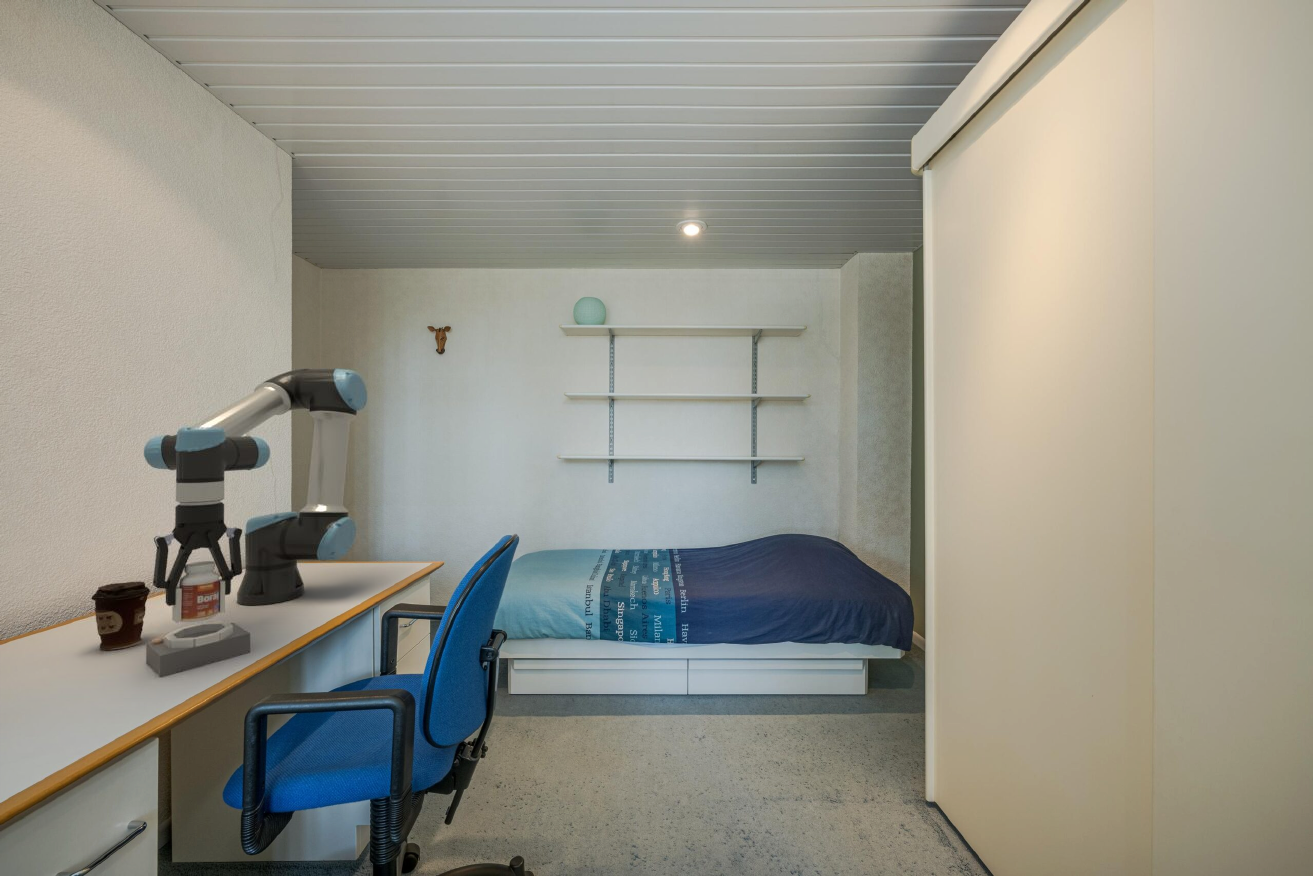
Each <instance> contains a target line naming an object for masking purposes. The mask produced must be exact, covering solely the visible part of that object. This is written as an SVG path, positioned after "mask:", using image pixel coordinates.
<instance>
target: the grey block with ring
mask: <svg viewBox="0 0 1313 876" xmlns="http://www.w3.org/2000/svg"><path fill="white" fill-rule="evenodd" d="M145 646H146V647H145V648H146V650H145V651H146V653H145V658H146V659H145V662H146V663H145V664H146V665H147V666H148V667H149V668H151V670H152V671H153V672H155V674H156V675H157V676H159V678H161V677H166V676H168V675H172V674H176V673H179V672H184V671H186V670H190V669H191V670H192V669H194V668H198V667H201V666H204V665H210V664H212V663H215V662H219V661H223V660H227V659H231V658H234V657H238V656H241V655H245V654H249V653H251V633H250V632H249V631H248V630H246V629H244V628H242V627H241V626H239V625H238V624H236V623H234V622H231V623H230V622H228V621H210V622H209V621H206V622H201V623H197V624H192V625H187V626H183V627H179V628H177V629H175V630H172V631H171V632H168V633H167V634H165V635H164V637H162V636H160V637H154V638H152V641H149V642H146V643H145Z"/></svg>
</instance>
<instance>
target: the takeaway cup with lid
mask: <svg viewBox="0 0 1313 876" xmlns="http://www.w3.org/2000/svg"><path fill="white" fill-rule="evenodd" d="M150 593H151V589H150V588H149V587H148V586H146V582H144V581H128V582H117V583H115V582H114V583H110V584H106V585H102V586H99V587H97V590H96V592H95V593H94V594H93V595H92V596H91V598H90V599H91V600H92V601H94V605H95V607H94V613H95V622H96V627H97V634H98V636H99V638H100V643H99V649H100V650H105V651H110V650H120V649H125V648H126V649H127V648H130V647H133V646H136V645H139V644H141V643H142V638H141V637H142V633H143V626H144V623H145V622H144V618H145V615H146V609H147V607H146V602H147V600H148V596H149V594H150Z"/></svg>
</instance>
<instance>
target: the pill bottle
mask: <svg viewBox="0 0 1313 876" xmlns="http://www.w3.org/2000/svg"><path fill="white" fill-rule="evenodd" d="M215 567H216V564H215V562H214V560H213V561H211V560H209V561H208V560H205V561H204V560H203V561H195V562H190V563H186V565H185V568H184V570H183V572H184V573H185V574H184V575H183V576H181V577H180V580H179V583H178V584H179V586H178V587H180V588H181V589H182V602H181V622H182V623H196V622H202V621H207V620H210V619H212V618H215V617H217V616H218V615H219V614H220V613H219V579H220V574H219V573H218V572H216V571H214V570H215ZM181 622H180V623H181Z"/></svg>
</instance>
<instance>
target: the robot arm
mask: <svg viewBox="0 0 1313 876" xmlns="http://www.w3.org/2000/svg"><path fill="white" fill-rule="evenodd" d="M367 391H368V390H367V386H366V385H365V381H364V380H363V377H362V376H361V375H360V374H359V373H358V372H356V371H354V370H352V369H342V368H299V369H298V368H297V369H292V370H289V371H286V372H284V373H283V372H282V373H280V374H278V375H275V376H273V377H271V378H268V379H266V380H265V381H263V382H261V383H260V384H257V386H255V388H254V390H253V392H251V393H250V394H248V395H246V396H244V397H243V398H240V399H239V400H237V401H235V402H233V403H231V404H230V405H228V406H226V407H224V408H223V409H221V410H218V411H217V412H215V413H213V414H211V415H209V416H208V417H206V418H204V419H202V420H201V421H199V422H196V423H195V424H193V425H192V426H183V427H181V428H179V429H178V430H177V431H176V433H177V434H174V435H170V434H165V435H158V436H154V437H152V438H150V439H149V440H148V441H147V442H146V444H145V446H144V448H143V456H144V460H145V462H146V463H147V465H149V466H150V467H152V468H154V469H158V470H169V471H175V473H176V474H175V477H176V478H175V502H177V503H178V504H176V506H175V507H174V508H175V511H174V515H175V518H174V519H175V520H174V521H175V522H174V528H173V529H172V530H171V532H170V533H166V534H164V535H161V536H160V535H156V536H155V537H154V538H153V542H154V544H155V547H156V553H155V563H154V570H153V578H152V585H153V586H154V587H155V588H156V589H165V604H166V605H167V606H168V607H171V606H172V612H171V613H172V614H171V616H172V617H171V619H172V621H173V622H175V623H176V624H177V623H181V602H182V589H181V588H180V587H179V586H178V584H179V583H180V579H181V578H182V574H183V572H184V568H185V565H186V564H188V560H189V558H190V556H191V555H192V553H193V551H195V550H198V549H203V548H204V549H208V550H209V552H210V554H211V557H212V559H213V562H215V567H216V569H217V571H218V574H219V577H221V578H219V613H218V614H223V613H226V596H228V595H230V594H231V593H232V580H233V579H234V578H235V577H237V576H240V575H241V574H242V573H243V565H242V555H241V553H242V551H241V537H242V534H243V529H241V528H240V527H228V526H227V525H226V524H225V523H226V522H225V503H224V502H222V501H223V500H225V472H231V471H252V470H254V469H255V470H256V469H259V468H262V467H264V466H265V465H266V464H267V463H268V462H269V459H270V458H271V457H270V456H271V455H270V454H271V450H270V447H269V444H268V443H267V442H266V441H265V440H264V439H262V438H260V437H256V436H251V435H249V436H248V435H245V434H247V433H249V432H250V431H253V429H255V428H256V427H258V426H260V425H261V424H263V423H264V422H266V421H268V420H269V419H271V418H272V417H274V416H280V415H285V414H286V413H288V412H289V411H290V412H291V411H294V410H308V411H309V412H308V414H309V415H310V417H312V418H313V419H314V424H313V425H314V427H313V437H312V445H311V447H312V448H311V455H310V456H311V459H310V466H309V467H310V468H309V481H308V491H307V497H306V499H307V500H306V505H305V506H304V507H303V508H301V510H299V513H298V512H297V511H285V512H284V511H283V512H278V513H271V514H270V513H269V514H265V515H259V516H255V517H252V518H250V519H248V520H247V521H246V524H245V533H244V537H245V538H244V543H245V545H244V546H245V547H244V548H245V553H244V554H245V558H244V559H245V561H244V562H245V564H244V565H245V566H244V567H245V568H244V575H243V577H242V579H241V583H240V586H239V587H238V590H237V593H236V602H237V604H240V605H245V606H261V605H270V604H276V603H281V602H285V601H290V600H293V599H297V598H299V597H300V596H303V595H304V594H305V584H304V580H303V578H302V576H301V573H300V571H299V569H298V561H321V562H323V561H331V560H332V561H333V560H334V561H335V560H339V559H341V558H343V557H344V556H346V555H347V554H348V552H349V551H350V550H351V549H352V546H353V545H354V542H355V539H356V534H357V526H356V523H355V520H354V519H353V518H351V517H349V510H348V509H347V508H346V507H345V506H344V493H345V492H344V491H345V484H346V483H345V482H346V474H347V473H346V472H347V471H346V469H347V462H348V461H347V459H348V447H349V438H350V437H349V436H350V427H351V426H350V425H351V424H350V423H351V422H353V421H354V420H355V419H356V418H357V412H358V411H361V410H363V409H364V408H365V406H366V405H367V402H368V392H367ZM224 534H226V537H227V538H228V547H229V559H230V560H229V561H230V568H229V567H228V564H227V561H226V559H225V556H224V554H223V551H222V550H221V544H219V541H220V539H221V538H222V537H223V536H224ZM173 540H176V541H177V542H178V543H179V544H180V546H179V549H178V553H177V555H176V559H175V560H174V563H173V565H172V568H171V570H170V572H169V575H168V577H167V579H166V576H167V575H166V573H167V565H168V556H169V546H171V544H172V541H173Z"/></svg>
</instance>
